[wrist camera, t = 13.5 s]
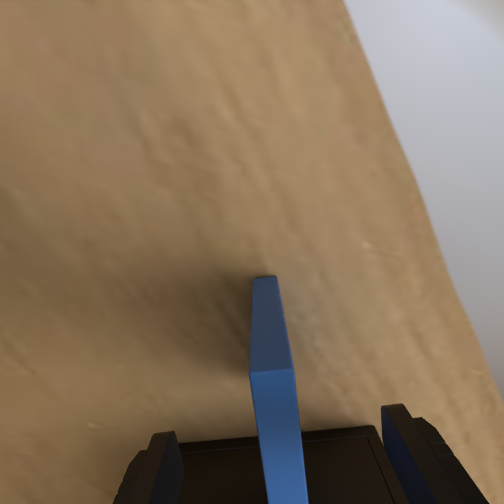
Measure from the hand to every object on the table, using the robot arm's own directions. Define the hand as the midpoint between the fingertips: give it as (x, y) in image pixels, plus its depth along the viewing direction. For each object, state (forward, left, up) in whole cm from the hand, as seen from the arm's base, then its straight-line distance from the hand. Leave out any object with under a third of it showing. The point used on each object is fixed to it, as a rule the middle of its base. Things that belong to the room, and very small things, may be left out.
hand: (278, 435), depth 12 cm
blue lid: (+1, 0, -10) cm, 10 cm away
